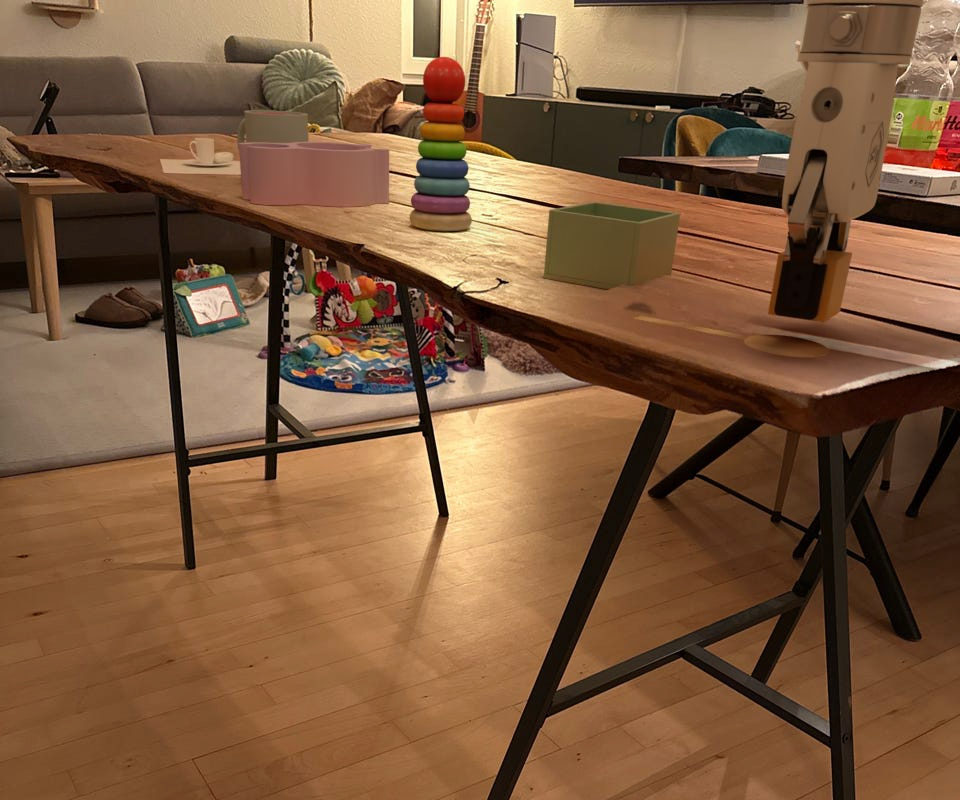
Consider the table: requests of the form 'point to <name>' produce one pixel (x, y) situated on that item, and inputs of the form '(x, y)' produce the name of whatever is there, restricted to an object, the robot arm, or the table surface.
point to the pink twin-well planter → (314, 174)
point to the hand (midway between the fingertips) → (805, 308)
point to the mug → (273, 127)
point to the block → (831, 287)
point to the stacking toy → (442, 153)
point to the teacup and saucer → (203, 161)
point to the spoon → (761, 341)
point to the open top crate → (609, 244)
